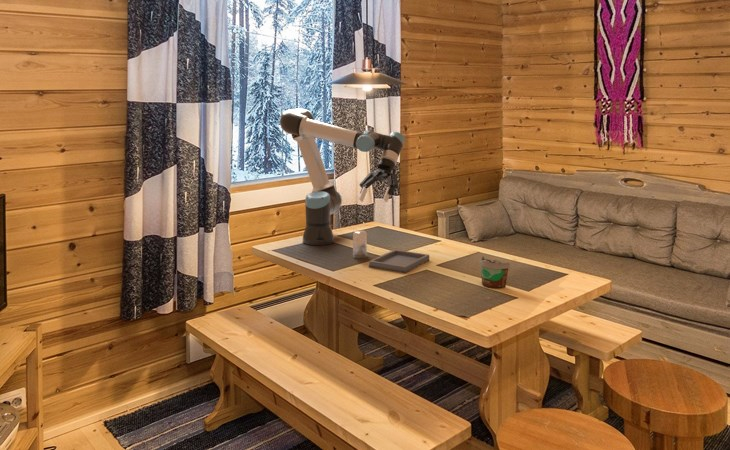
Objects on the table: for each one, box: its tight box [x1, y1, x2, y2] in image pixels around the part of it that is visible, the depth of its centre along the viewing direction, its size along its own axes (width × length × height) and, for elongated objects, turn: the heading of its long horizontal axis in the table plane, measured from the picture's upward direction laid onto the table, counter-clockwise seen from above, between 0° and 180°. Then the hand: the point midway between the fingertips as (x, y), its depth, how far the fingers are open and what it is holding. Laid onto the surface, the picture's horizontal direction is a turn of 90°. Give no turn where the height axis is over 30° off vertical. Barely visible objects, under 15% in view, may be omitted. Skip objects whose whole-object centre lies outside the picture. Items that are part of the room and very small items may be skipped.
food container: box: [478, 256, 511, 290], centre depth 235 cm, size 12×6×10 cm, turn 45°
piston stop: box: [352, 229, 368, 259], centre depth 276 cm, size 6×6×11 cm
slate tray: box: [368, 249, 430, 274], centre depth 266 cm, size 17×22×2 cm
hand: (372, 200), depth 284 cm, fingers open, 13 cm apart
